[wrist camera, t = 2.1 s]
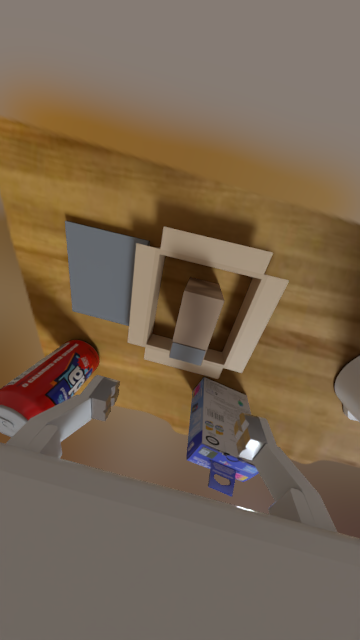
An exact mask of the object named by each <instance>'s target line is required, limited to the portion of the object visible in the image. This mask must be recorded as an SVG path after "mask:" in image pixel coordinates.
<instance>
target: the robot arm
mask: <svg viewBox="0 0 360 640" xmlns="http://www.w3.org/2000/svg"><path fill="white" fill-rule="evenodd" d="M119 385H120V381H117V380H114V379H110V378H107V377H103V376H99V375H96V376H95V377H94V378H93V379H92V381H91V382H90V383H89V384H88V386H87V387H86V388H85V389H84V391H83V392H82V393H81V394H80V395H76V396H74V397H72V398H70V399H68V400H66V401H64V402H62V403H60V404H58V405H56V406H54V407H52V408H50V409H48V410H46V411H44V412H42V413H40V414H38V415H36V416H34V417H32V418H30V419H29V420H28V421H27V422H26V423H25V424H24V425H23V426H22V427H21V428H20V429H19V431H18V432H17V433H16V434H15V435H14V436H13V437H12V438H11V439H10V440H9V441H8V442H7V443H6V444H4V443H0V640H360V539H359V538H355V537H352V536H348V535H344V534H341V533H337V530H336V528H335V526H334V524H333V522H332V520H331V518H330V516H329V514H328V511H327V509H326V507H325V505H324V503H323V501H322V499H321V496H320V495H319V493H318V492H317V491H316V490H315V489H314V487H313V486H312V485H311V484H310V483H309V482H308V480H307V479H306V478H305V477H304V476H303V474H302V473H301V472H300V471H299V470H298V469H297V467H296V466H295V465H294V464H293V463H292V462H291V460H290V459H289V458H288V457H287V456H286V454H285V453H284V452H283V451H282V450H281V449H280V447H277V445H276V442H275V440H274V437H273V435H272V432H271V429H270V427H269V424H268V421H267V420H266V419H265V418H261V417H257V416H254V415H250V414H246V413H241V414H240V415H239V418H240V419H238V420H236V422H235V426H234V434H235V437H236V439H237V440H238V442H237V443H236V446H237V451H238V456H239V457H242V458H246V459H249V460H253V461H252V462H253V464H254V465H255V467H256V469H257V471H258V472H259V474H260V476H261V477H262V479H263V481H264V483H265V484H266V486H267V488H268V489H269V491H270V493H271V494H272V496H273V498H274V500H275V501H276V502H274V503H273V504H272V505H271V506H270V507H269V509H268V510H269V513H270V514H266V513H262V512H258V511H255V510H251V509H247V508H243V507H240V506H236V505H232V504H228V503H224V502H221V501H217V500H213V499H210V498H206V497H202V496H198V495H194V494H191V493H187V492H183V491H180V490H176V489H172V488H168V487H165V486H161V485H157V484H153V483H150V482H146V481H142V480H139V479H135V478H131V477H127V476H124V475H120V474H116V473H112V472H108V471H105V470H101V469H97V468H94V467H90V466H86V465H82V464H78V463H75V462H71V461H67V460H64V459H60V457H61V455H62V449H61V444H60V442H61V441H63V440H64V439H65V438H67V437H68V436H69V435H71V434H72V433H73V432H75V431H76V430H77V429H79V428H80V427H81V426H82V425H84V424H85V423H87V422H88V421H89V420H91V418H93V419H97V420H102V421H106V419H107V417H108V415H109V413H110V412H111V406H113V405H114V404H115V402H116V400H117V398H118V395H119V389H118V387H119ZM335 392H336V395H337V397H338V398H339V399H340V400H341V402H342V403H343V411H344V414H345V415H346V416H347V417H348V418H349V419H351V420H356V421H359V422H360V356H358V357H357V358H355V359H354V360H352V361H351V362H350V363H349V364H347V365H346V366H345V367H344V368H343V369H342V371H341V372H340V373H339V375H338V377H337V379H336V382H335Z"/></svg>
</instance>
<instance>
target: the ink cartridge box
mask: <svg viewBox="0 0 360 640" xmlns="http://www.w3.org/2000/svg"><path fill="white" fill-rule="evenodd" d="M241 413H246V414H250V415H251V412H250V408H249V403H248V399H247V396H246V395H244V394H242V393H240V392H238V391H235V390H233V389H231V388H228V387H226V386H224V385H222V384H219V383H217V382H215V381H212V380H210V379H208V378H206V377H204V378H203V379H202V380H201V381H200V383H199V384H198V385H197V386H196V388H195V389H194V390H193V392H192V404H191V415H190V426H189V436H188V447H187V460H188V461H191V462H193V463H196V464H198V465H201V466H204V467H206V468H209V469H210V475H209V484H208V487H210V488H213V489H215V490H218V491H220V492H222V493H224V494H227V495H229V496H232V493H233V488H234V483H235V479H238V480H240V481H242V482H244V481H246V480H248V479H250V478H252V477H253V476H255V475H256V474H258V473H259V472H258V471H257V469H256V467H255V465H254V464H253V462H252V461H253V460H249V459H246V458H242V457H239V456H238V451H237V446H236V443H237V442H238V440H237V439H236V437H235V434H234V426H235V422H236V420H238V419H240V418H239V415H240V414H241ZM214 474H217V475H220V476H222V477H224V478H227V479H229V481H230V485H220V484H219V483H218V482H217V481H216V480H215V479H214Z"/></svg>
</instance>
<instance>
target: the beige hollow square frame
mask: <svg viewBox="0 0 360 640" xmlns="http://www.w3.org/2000/svg"><path fill="white" fill-rule="evenodd" d="M272 255H273V253H272V252H268V251H264V250H260V249H256V248H251V247H247V246H243V245H239V244H235V243H231V242H227V241H222V240H218V239H214V238H210V237H206V236H202V235H197V234H193V233H189V232H185V231H181V230H177V229H172V228H168V227H164V228H163V235H162V241H161V248H155V247H151V246H146V245H142V244H138V243H136V253H135V264H134V276H133V287H132V299H131V310H130V322H129V333H128V343H131V344H135V345H139V346H142V347H146V349H145V355H144V359H146V360H149V361H153V362H157V363H160V364H164V365H168V366H172V367H175V368H179V369H183V370H186V371H190V372H194V373H197V374H201V375H205V376H209V377H212V378H216V379H218V378H219V376H220V374H221V371H222V369H223V368H225V369H228V370H232V371H236V372H240V373H242V372H243V370H244V368H245V366H246V364H247V362H248V360H249V358H250V356H251V354H252V352H253V350H254V348H255V346H256V344H257V342H258V340H259V339H260V337H261V335H262V333H263V331H264V329H265V327H266V325H267V323H268V321H269V319H270V317H271V315H272V313H273V311H274V309H275V307H276V305H277V303H278V302H279V300H280V298H281V296H282V294H283V292H284V290H285V288H286V286H287V284H288V282H289V280H285V279H281V278H277V277H273V276H269V275H266V274H264V273H265V271H266V268H267V266H268V264H269V262H270V259H271V257H272ZM165 256H169V257H173V258H177V259H181V260H185V261H189V262H193V263H197V264H201V265H205V266H210V267H214V268H218V269H222V270H226V271H230V272H234V273H238V274H242V275H246V276H250V277H253V279H252V281H251V283H250V286H249V288H248V291H247V293H246V296H245V298H244V300H243V303H242V305H241V308H240V310H239V313H238V315H237V317H236V320H235V322H234V325H233V327H232V330H231V332H230V335H229V337H228V339H227V342H226V344H225V347H224V349H223V352H219V351H216V350H212V349H208V348H207V351H206V354H205V357H204V360H203V362H202V365H201V366H199V365H195V364H192V363H188V362H184V361H181V360H177V359H173V358H169V357H170V356H169V353H170V349H171V345H172V341H173V339H170V338H166V337H163V336H159V335H155V334H152V333H153V327H154V321H155V315H156V309H157V303H158V297H159V291H160V284H161V278H162V272H163V266H164V260H165Z"/></svg>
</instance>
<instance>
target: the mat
mask: <svg viewBox="0 0 360 640" xmlns="http://www.w3.org/2000/svg"><path fill="white" fill-rule="evenodd" d="M65 227H66V239H67V251H68V262H69V274H70V286H71V298H72V310H73V311H74V312H78V313H82V314H86V315H90V316H93V317H97V318H101V319H105V320H109V321H112V322H116V323H120V324H124V325H128V326H129V322H130V310H131V299H132V287H133V276H134V264H135V253H136V243H138V244H142V245H146V246H149V245H150V241H147V240H143V239H139V238H135V237H131V236H127V235H123V234H118V233H114V232H110V231H106V230H102V229H98V228H94V227H90V226H86V225H82V224H77V223H73V222H69V221H65Z"/></svg>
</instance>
